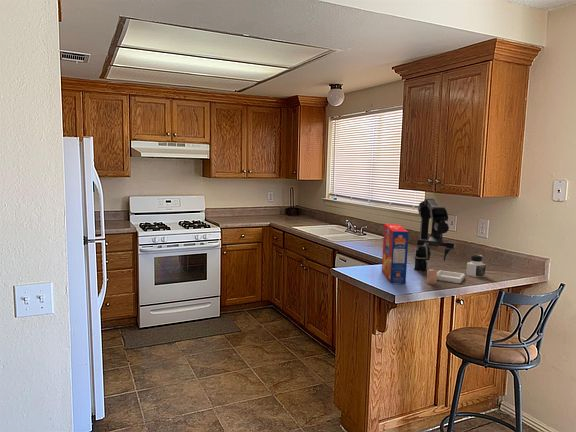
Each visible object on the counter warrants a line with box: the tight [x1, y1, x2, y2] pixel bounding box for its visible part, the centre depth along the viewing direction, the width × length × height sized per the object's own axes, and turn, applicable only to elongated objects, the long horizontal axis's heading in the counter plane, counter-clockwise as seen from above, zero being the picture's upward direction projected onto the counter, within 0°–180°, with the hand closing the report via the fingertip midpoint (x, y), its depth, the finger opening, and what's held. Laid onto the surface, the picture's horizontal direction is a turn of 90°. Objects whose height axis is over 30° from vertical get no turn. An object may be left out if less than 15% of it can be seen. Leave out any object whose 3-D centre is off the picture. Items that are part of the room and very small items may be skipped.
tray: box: [437, 270, 466, 284], centre depth 245 cm, size 14×14×2 cm
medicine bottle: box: [465, 254, 487, 278], centre depth 253 cm, size 7×7×12 cm
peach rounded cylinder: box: [426, 268, 438, 285], centre depth 235 cm, size 5×5×7 cm
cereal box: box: [381, 223, 410, 285], centre depth 244 cm, size 28×8×28 cm, turn 177°
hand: (435, 259), depth 234 cm, fingers open, 9 cm apart
